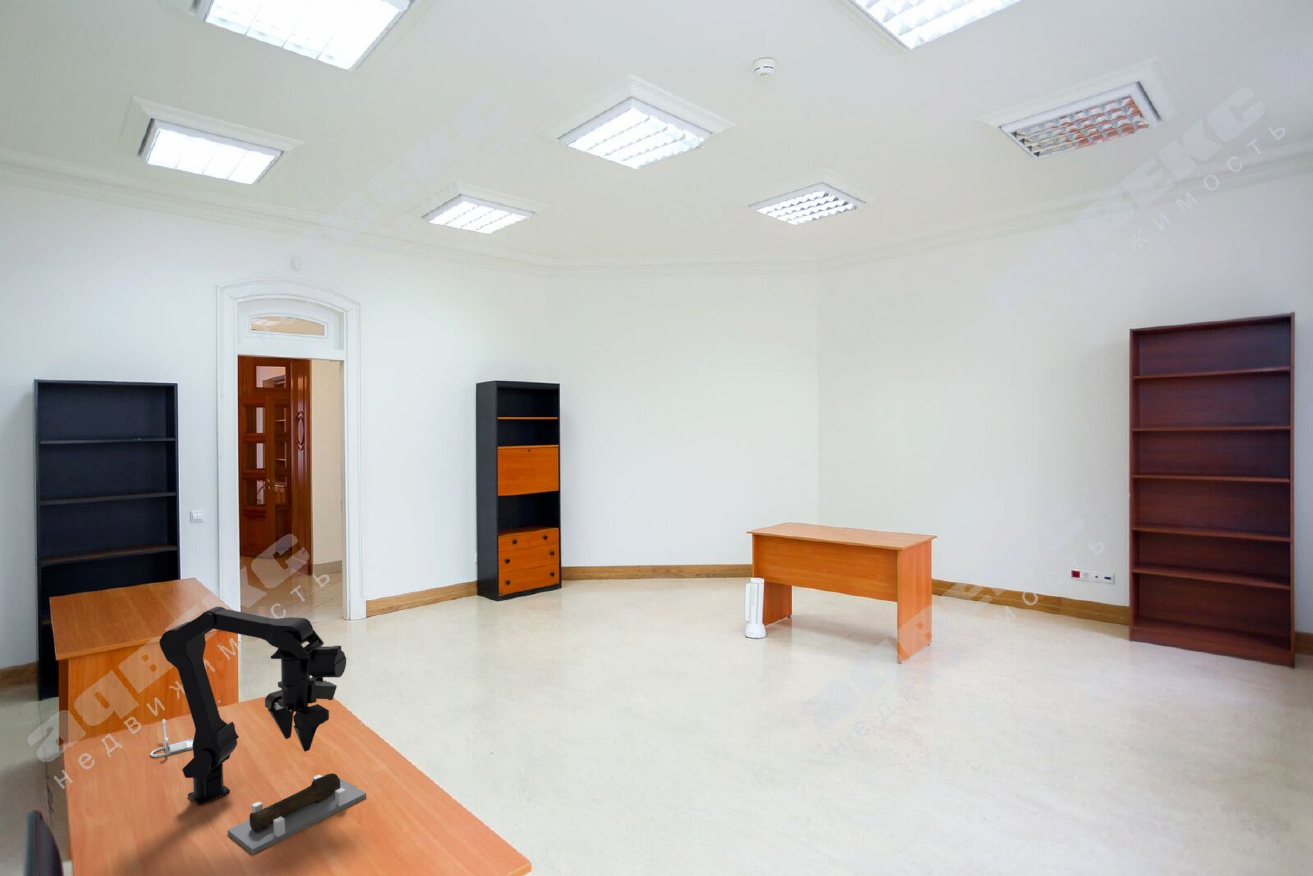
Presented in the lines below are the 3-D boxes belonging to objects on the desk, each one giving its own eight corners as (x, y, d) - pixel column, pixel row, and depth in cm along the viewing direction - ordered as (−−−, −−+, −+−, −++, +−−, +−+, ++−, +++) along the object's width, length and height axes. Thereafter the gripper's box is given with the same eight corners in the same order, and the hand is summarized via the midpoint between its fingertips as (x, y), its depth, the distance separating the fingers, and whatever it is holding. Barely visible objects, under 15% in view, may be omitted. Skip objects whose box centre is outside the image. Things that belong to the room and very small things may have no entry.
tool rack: (227, 834, 142) (227, 815, 142) (339, 782, 162) (339, 765, 161) (252, 854, 136) (251, 834, 136) (366, 797, 155) (365, 780, 155)
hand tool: (257, 837, 140) (256, 814, 140) (248, 829, 142) (247, 807, 142) (346, 794, 155) (346, 774, 155) (337, 788, 157) (336, 768, 157)
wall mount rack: (150, 764, 171) (149, 741, 171) (149, 743, 182) (148, 721, 182) (224, 745, 181) (223, 723, 180) (219, 726, 191) (218, 705, 191)
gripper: (351, 675, 156) (352, 743, 157) (312, 657, 168) (313, 720, 169) (301, 691, 148) (302, 763, 148) (263, 670, 159) (264, 737, 160)
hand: (297, 744), depth 156 cm, fingers open, 9 cm apart
